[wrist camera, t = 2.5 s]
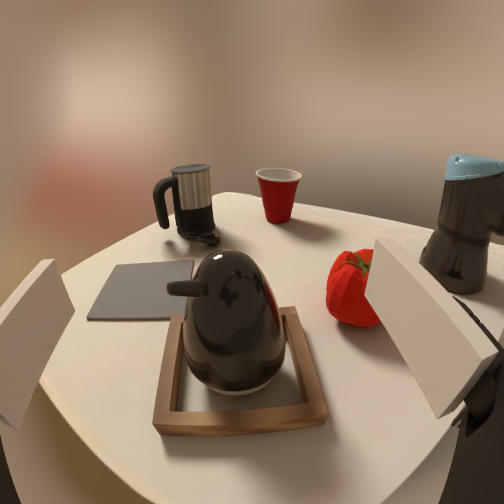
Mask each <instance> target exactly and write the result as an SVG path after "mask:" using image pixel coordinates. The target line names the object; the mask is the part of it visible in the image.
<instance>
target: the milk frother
mask: <svg viewBox="0 0 504 504" xmlns="http://www.w3.org/2000/svg"><path fill="white" fill-rule="evenodd" d="M210 167H211V166H210V165H207V164H194V165H193V164H192V165H185V166H179V167H176V168H173V169H171V170H170V171H171V172H172V177H168V178H165V179H162V180H160V181H159V182H158V183H157V184H156V186H155V188H154V190H153V199H154V204H155V208H156V213H157V217H158V221H159V225H160V226H161V227H162V228H163V229H168V228H169V225H170V224H169V219H168V214H167V209H166V203H165V197H164V194H165V191H166V190H167V189H168V188H170V187H172V194H173V203H174V211H175V220H176V225H177V232H178V233H179V234H181V235H182V237H183V238H185V239H188V240H192V241H196V242H200V243H204V244H208V245H211V246H213V245H214V244H216V243H220V238H219V236H215V234H214V233H209V234H206V233H208V232H211V231H212V230H213V229H214V228H215V223H214V219H213V210H212V197H211V184H210V170H209V168H210Z"/></svg>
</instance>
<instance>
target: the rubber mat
mask: <svg viewBox="0 0 504 504" xmlns="http://www.w3.org/2000/svg"><path fill="white" fill-rule="evenodd" d="M193 264H194V260H182V261H167V262H152V263H137V264H122V265H116V266H115V268H114V269H113V271H112V273H111V274H110V276H109V278H108V279H107V281H106V283H105V284H104V286H103V288H102V290H101V291H100V293H99V295H98V297H97V299H96V300H95V302H94V304H93V306H92V308H91V309H90V311H89V313H88V315H87V317H86V318H87V319H92V320H153V319H171V315H175V314H184V311H185V304H186V299H187V297H183V296H170V295H169V294H168V293H167V291H166V286H167V284H168V282H173V281H185V280H191V275H192V269H193Z"/></svg>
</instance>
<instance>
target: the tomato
mask: <svg viewBox="0 0 504 504" xmlns="http://www.w3.org/2000/svg"><path fill="white" fill-rule="evenodd" d="M373 251H374V250H373V249H362V250H359V251H357V252H353V253H352V252H349V251H344V252H343V253H341V254H340V255H339V256H338V258H337V259H336V261H335V262H334V264H333V266H332V268H331V270H330V273H329V277H328V280H327V288H326V291H327V295H326V305H327V308H328V310H329V312H330V314H331V315H332V316H334V317H335V318H336V319H337V320H339V321H341V322H345V323H350V324H353V325H356V326H359V327H370V326H373V325H376V324H379V323H381V320H380V319H379V317H378V316H377V314H376V312H375V311H374V309H373V308H372V306H371V305H370V303H369V301H368V300H367V298H366V297H365V295H364V294H365V290H366V286H367V281H368V276H369V272H370V267H371V262H372V256H373Z"/></svg>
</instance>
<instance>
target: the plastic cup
mask: <svg viewBox="0 0 504 504" xmlns="http://www.w3.org/2000/svg"><path fill="white" fill-rule="evenodd" d="M256 175H257V177H258V181H259V186H260V189H261V195H262V201H263V206H264V209H265V215H266V218H267V221H269V222H271V223H278V224H280V223H286V222H288V221H289V220H290V217H291V211H292V208H293V203H294V198H295V192H296V188H297V185H298V183H299V180H300V179H301V178H302V175H301V174H300V173H299V172H296V171H293V170H289V169H282V168H265V169H260V170H258V171H256Z"/></svg>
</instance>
